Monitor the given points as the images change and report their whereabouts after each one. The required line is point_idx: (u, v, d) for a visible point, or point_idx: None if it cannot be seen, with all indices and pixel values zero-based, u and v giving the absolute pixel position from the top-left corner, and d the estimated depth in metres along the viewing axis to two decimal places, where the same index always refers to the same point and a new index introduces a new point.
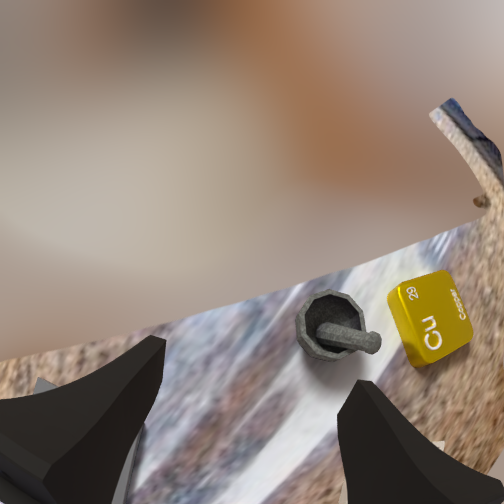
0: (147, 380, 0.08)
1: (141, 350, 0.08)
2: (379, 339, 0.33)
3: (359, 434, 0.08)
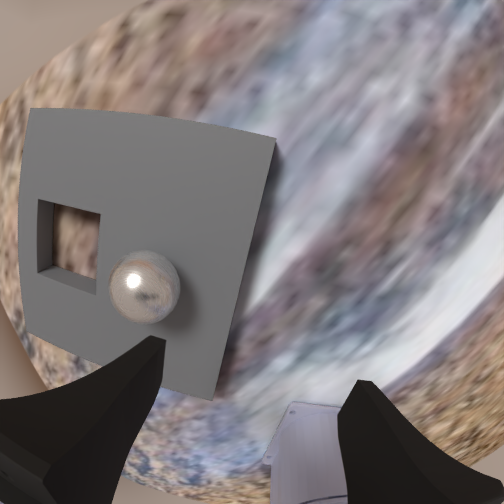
0: (147, 380, 0.08)
1: (141, 350, 0.08)
2: None
3: (359, 434, 0.08)
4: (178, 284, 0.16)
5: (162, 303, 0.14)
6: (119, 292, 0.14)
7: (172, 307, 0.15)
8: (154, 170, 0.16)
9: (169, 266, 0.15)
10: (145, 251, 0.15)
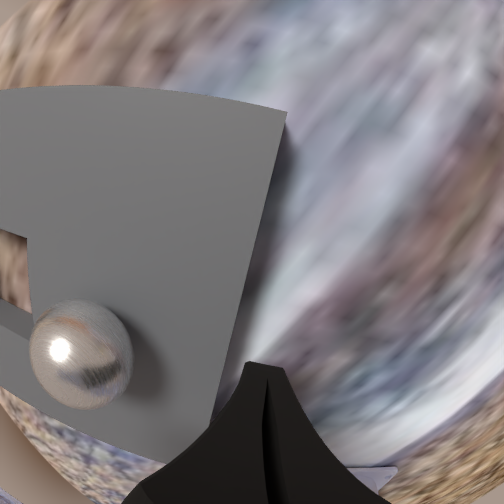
0: None
1: (253, 380, 0.09)
2: None
3: None
4: (128, 356, 0.09)
5: (102, 390, 0.08)
6: (38, 370, 0.07)
7: (121, 390, 0.09)
8: (89, 171, 0.09)
9: (110, 331, 0.09)
10: (74, 304, 0.09)
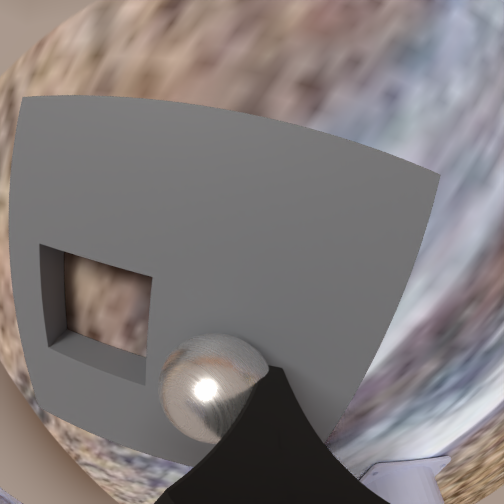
0: None
1: (268, 383, 0.09)
2: None
3: None
4: None
5: None
6: (165, 394, 0.08)
7: None
8: (255, 211, 0.10)
9: (256, 374, 0.09)
10: (224, 340, 0.09)
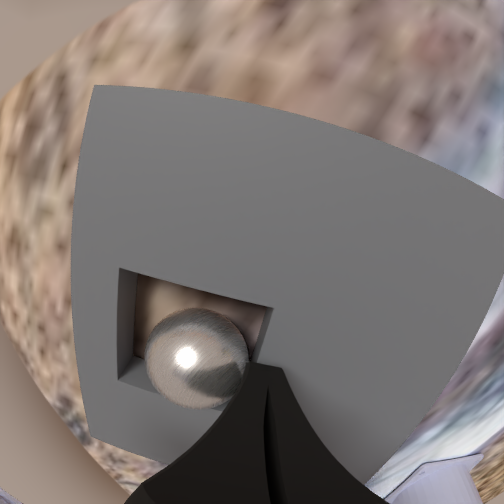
0: None
1: (254, 380, 0.09)
2: None
3: None
4: (168, 364, 0.09)
5: (146, 345, 0.10)
6: None
7: (148, 371, 0.10)
8: (389, 242, 0.09)
9: (186, 339, 0.10)
10: (220, 322, 0.11)
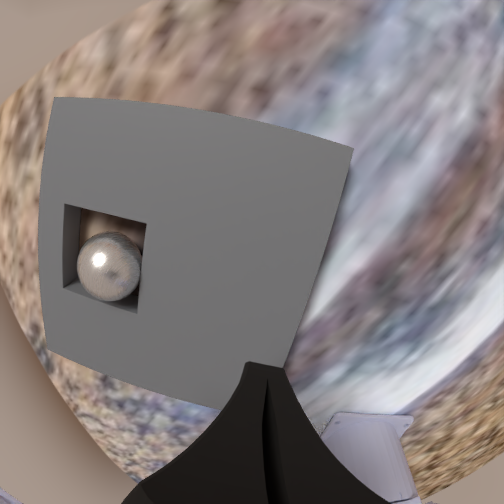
0: None
1: (253, 380, 0.09)
2: None
3: None
4: (87, 262, 0.14)
5: (78, 256, 0.15)
6: None
7: (78, 271, 0.15)
8: (216, 175, 0.14)
9: (98, 245, 0.15)
10: (121, 237, 0.16)
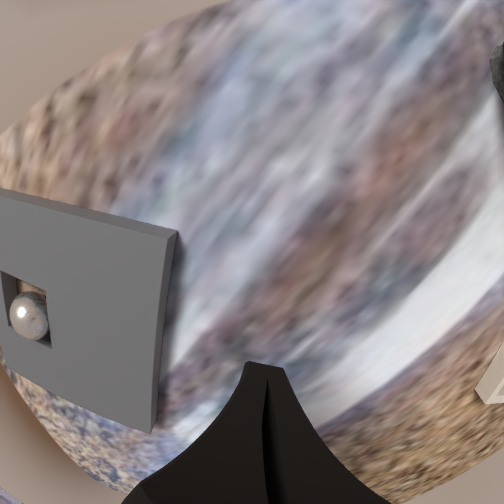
0: None
1: (253, 380, 0.09)
2: None
3: None
4: (12, 315, 0.17)
5: None
6: None
7: (10, 319, 0.18)
8: (77, 261, 0.17)
9: (18, 303, 0.18)
10: (34, 297, 0.19)
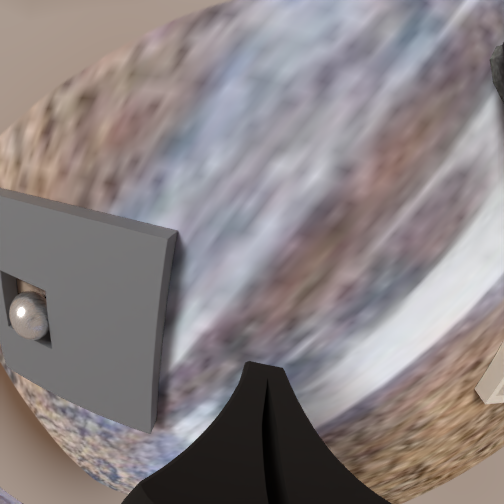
0: None
1: (253, 380, 0.09)
2: None
3: None
4: (12, 314, 0.17)
5: None
6: None
7: None
8: (77, 261, 0.17)
9: (17, 303, 0.18)
10: (33, 297, 0.19)
